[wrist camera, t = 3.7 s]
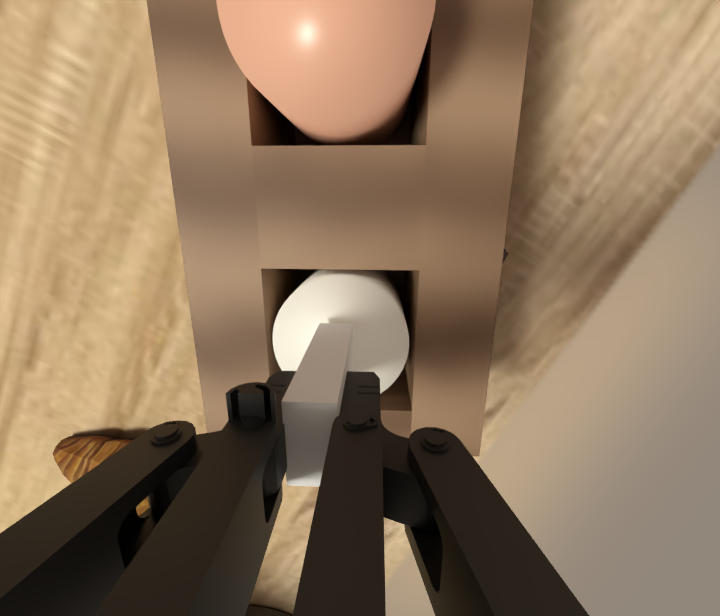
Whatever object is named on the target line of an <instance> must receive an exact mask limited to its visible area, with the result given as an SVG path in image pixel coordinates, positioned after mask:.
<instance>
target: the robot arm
mask: <svg viewBox="0 0 720 616" xmlns="http://www.w3.org/2000/svg"><path fill="white" fill-rule="evenodd" d="M225 394H226V403H227V411H228V422H227V423H226V425H225V426H224V428H223V429H222V430H220V431H216V432H210V433H204V434H198V435H196V431H195V427H194V426H193V424H192V423H189V422H187V421H172V422H171V421H169V422H165V423H163V424H160V425H157V426H155V427H153V428H151V429H149V430H148V431H146V432H144V433H143V434H142V435H140V436H139V437H137V438H136V439H134V440H133V441H132V442H130V443H129V444H127V445H126V446H124V447H123V448H122V449H120V450H119V451H117V452H116V453H114V454H113V455H112V456H110V457H109V458H107V459H106V460H104V461H103V462H102V463H100V464H99V465H97V466H96V467H94V468H93V469H92V470H90V471H89V472H87V473H86V474H84V475H83V476H82V477H80V478H79V479H77V480H76V481H74V482H73V483H72V484H70V485H69V486H67V487H66V488H64V489H63V490H62V491H60V492H59V493H57V494H56V495H54V496H53V497H52V498H50V499H49V500H47V501H46V502H44V503H43V504H42V505H40V506H39V507H37V508H36V509H34V510H33V511H32V512H30V513H29V514H27V515H26V516H24V517H23V518H22V519H20V520H19V521H17V522H16V523H15V524H13V525H12V526H10V527H9V528H7V529H6V530H5V531H3V532H2V533H0V616H290V615H288V614H285V613H283V612H280V611H277V610H273V609H269V608H264V607H257V606H248V605H249V602H250V599H251V596H252V593H253V590H254V587H255V583H256V580H257V577H258V574H259V571H260V568H261V565H262V561H263V558H264V555H265V552H266V549H267V546H268V543H269V539H270V536H271V533H272V530H273V527H274V524H275V521H276V517H277V514H278V511H279V508H280V505H281V502H282V481H283V478H284V475H285V472H286V479H287V485H293V486H319V491H318V496H317V501H316V506H315V511H314V516H313V520H312V525H311V530H310V535H309V540H308V544H307V549H306V554H305V559H304V564H303V569H302V573H301V578H300V583H299V588H298V593H297V598H296V602H295V607H294V612H293V616H385V567H384V517H385V518H388V519H391V520H393V521H396V522H399V523H402V524H404V525H405V532H406V535H407V537H408V540H409V543H410V546H411V549H412V551H413V554H414V557H415V560H416V562H417V565H418V568H419V571H420V574H421V577H422V579H423V582H424V585H425V587H426V590H427V593H428V596H429V599H430V602H431V604H432V607H433V610H434V613H435V616H589V615H588V614H587V612H586V611H585V609H584V608H583V607H582V605H581V604H580V603H579V601H578V600H577V599H576V597H575V596H574V594H573V593H572V592H571V591H570V589H569V588H568V586H567V585H566V584H565V582H564V581H563V580H562V578H561V577H560V575H559V574H558V573H557V572H556V570H555V569H554V567H553V566H552V564H551V563H550V562H549V561H548V559H547V558H546V556H545V555H544V554H543V552H542V551H541V549H540V548H539V547H538V545H537V544H536V543H535V541H534V540H533V539H532V537H531V536H530V534H529V533H528V532H527V530H526V529H525V528H524V526H523V525H522V524H521V522H520V521H519V520H518V518H517V517H516V515H515V514H514V513H513V511H512V510H511V509H510V507H509V506H508V504H507V503H506V502H505V500H504V499H503V498H502V496H501V495H500V494H499V492H498V491H497V489H496V488H495V487H494V485H493V484H492V483H491V481H490V480H489V479H488V477H487V476H486V474H485V473H484V472H483V470H482V469H481V468H480V466H479V465H478V464H477V462H476V461H475V459H474V458H473V457H472V455H471V454H470V453H469V451H468V450H467V449H466V447H465V446H464V444H463V443H462V442H461V440H460V439H459V438H458V437H457V436H455V435H454V434H453V433H451V432H449V431H447V430H445V429H441V428H437V427H424V428H420V429H417V430H415V431H414V432H413V433H411V435H410V437H409V438H406V437H402V436H399V435H396V434H394V433H392V432H390V431H389V430H387V429H386V428H385V427H384V426H383V424H382V422H381V407H380V378H379V377H378V376H377V375H376V374H375V372H357V371H353V324H337V323H320V324H319V326H318V328H317V330H316V332H315V334H314V336H313V338H312V340H311V342H310V344H309V346H308V348H307V350H306V352H305V354H304V356H303V358H302V360H301V362H300V365H299V367H298V369H297V371H278V372H276V373H275V374H273V375H271V376H270V377H269V378H268V380H267V381H266V383H261V382H252V383H245V384H241V385H238V386H236V387H234V388H231V389H230V390H229V391H228V392H226V393H225ZM146 497H147V499H148V504H149V508H148V509H147V510H146V511H145V512H143V513H142V514H140V515H139V516H138V514H137V510H136V507H137V506H138V505H139V504H140V503H141V502H142V501H143V500H144V499H145V498H146Z"/></svg>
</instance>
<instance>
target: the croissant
mask: <svg viewBox="0 0 720 616" xmlns="http://www.w3.org/2000/svg"><path fill="white" fill-rule="evenodd" d="M132 441H133V440H132V439H117V438H114V437H111V436H108V435H82V436H70V437H67V438H65V439H63V440H61V441H60V443H59V444H58V445H57V446H56V447H55V450H54V452H53V456H54V459H55V461H56V463H57V465H58V466H59V468H60V470H61V472H62V473H63V475H64V476H65V477H66V478H67V479H68V480H69V481H70V482H71V483H73V482H74V481H76V480H77V479H79V478H80V477H82V476H83V475H84V474H86V473H87V472H89V471H90V470H92V469H93V468H94V467H96V466H97V465H99V464H100V463H102V462H103V461H104V460H106V459H107V458H109V457H110V456H112V455H113V454H114V453H116V452H117V451H119V450H120V449H122V448H123V447H124V446H126V445H127V444H129V443H130V442H132ZM148 508H149V504H148V499H147V497H146V498H145V499H144V500H143V501H142V502H141V503H140V504H139V505H138V506H137V507H136V510H137V514H138V516H139V515H140V514H142V513H143V512H145V511H146V510H147V509H148Z"/></svg>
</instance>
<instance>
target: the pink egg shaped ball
mask: <svg viewBox="0 0 720 616" xmlns="http://www.w3.org/2000/svg"><path fill="white" fill-rule="evenodd" d="M216 2H217V9H218V16H219V20H220V23H221V27H222V31H223V34H224V37H225V40H226V42H227V45H228V48H229V49H230V51H231V53H232V55H233V57H234V59H235V61H236V63H237V65H238V66H239V68H240V69H241V71H242V72H243V74H244V75H245V76H246V77H247V79H248V80H249V81H250V82H251V83H252V85H253V86H254V87H255V88H256V89H257V90H258V91H259V92H260V93H261V94H262V95H263V96H265V97H266V98H267V99H268V100H269V101H270V102H271V103H272V104H273V105H274V106H275V107H276V108H277V109H278V110H279V111H280V112H281V113H282V114H283V115H284V116H285V117H286V118H287V119H288V120H289V121H291V122H292V123H293V124H294V125H295V126H296V127H297V128H298V129H299V130H300V131H301V132H302V133H303V134H304V135H305V136H306V137H307V138H308V139H309V140H310V141H312V142H313V143H314V144H316V145H317V146H333V145H380V144H381V143H383V142H384V141H385V140H386V139H387V138H389V137H390V136H391V135H392V133H393V132H394V131H395V130H396V128H397V127H398V125H399V124H400V122H401V120H402V118H403V116H404V114H405V112H406V109H407V106H408V103H409V99H410V96H411V93H412V89H413V86H414V83H415V79H416V76H417V73H418V69H419V66H420V63H421V59H422V56H423V53H424V49H425V46H426V43H427V39H428V36H429V33H430V29H431V25H432V21H433V16H434V12H435V3H436V0H216Z"/></svg>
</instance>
